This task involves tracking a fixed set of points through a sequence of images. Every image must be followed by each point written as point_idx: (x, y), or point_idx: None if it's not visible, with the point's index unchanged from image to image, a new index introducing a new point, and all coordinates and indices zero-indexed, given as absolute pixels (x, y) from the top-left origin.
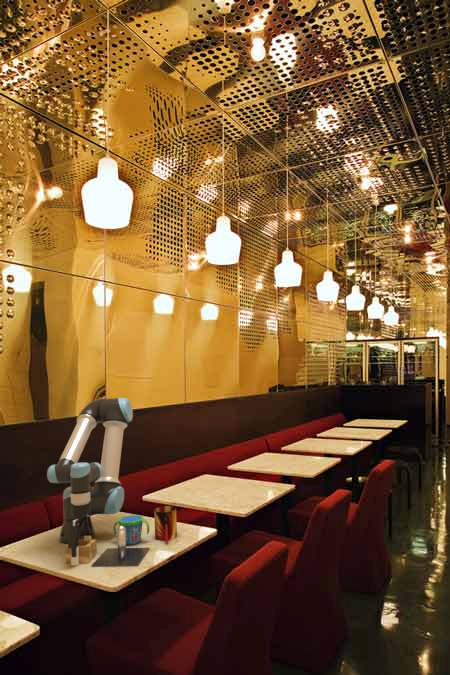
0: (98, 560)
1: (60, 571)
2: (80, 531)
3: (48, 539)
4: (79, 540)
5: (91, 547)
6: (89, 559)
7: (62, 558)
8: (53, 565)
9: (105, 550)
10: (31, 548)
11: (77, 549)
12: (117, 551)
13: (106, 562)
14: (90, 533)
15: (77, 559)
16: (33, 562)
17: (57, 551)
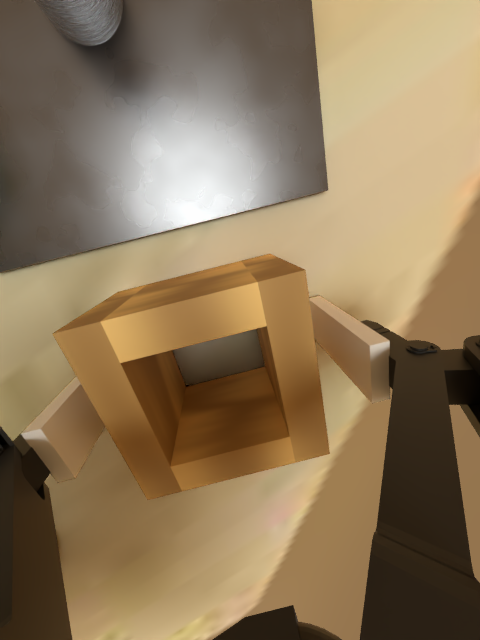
0: (233, 192)
1: None
2: (400, 515)
3: None
4: (153, 460)
5: (211, 285)
6: (253, 260)
7: None
8: None
9: (38, 262)
10: (164, 598)
11: (377, 336)
12: (2, 130)
13: (260, 83)
14: (9, 457)
15: (336, 308)
16: (297, 508)
17: (157, 509)
